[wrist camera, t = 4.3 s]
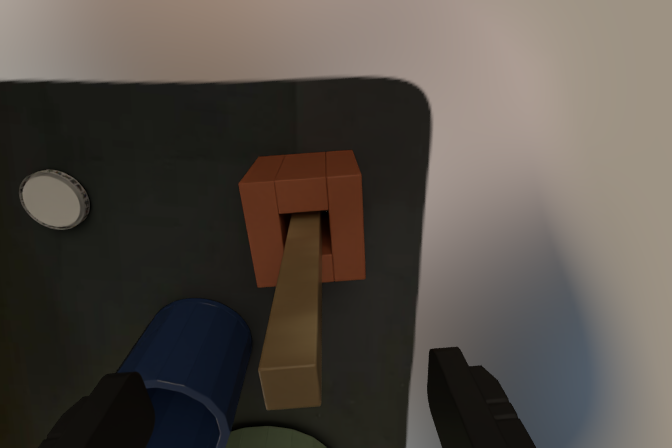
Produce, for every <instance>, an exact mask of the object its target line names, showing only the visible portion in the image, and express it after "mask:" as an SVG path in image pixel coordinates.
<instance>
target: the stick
mask: <svg viewBox="0 0 672 448" xmlns="http://www.w3.org/2000/svg"><path fill="white" fill-rule="evenodd" d="M258 372H259V377H260V382H261V387H262V392H263V396H264V401H265V406H266V409H267V410H278V409H291V408H304V407H317V406H320V405H321V385H322V211H309V212H296V213H292V215H291V220H290V224H289V229H288V234H287V238H286V243H285V248H284V252H283V257H282V261H281V266H280V271H279V275H278V280H277V284H276V289H275V294H274V298H273V303H272V307H271V312H270V317H269V321H268V326H267V330H266V335H265V340H264V344H263V349H262V353H261V358H260V363H259V367H258Z"/></svg>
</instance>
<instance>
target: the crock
mask: <svg viewBox="0 0 672 448" xmlns="http://www.w3.org/2000/svg"><path fill="white" fill-rule="evenodd" d="M251 351H252V336H251V332H250V330H249V328H248V325H247V324H246V322H245V321H244V320H243V319H242V317H241V316H240V315H239V314H238V313H236V312H235V311H234V310H232V309H231V308H229V307H227V306H226V305H224V304H221V303H219V302H216V301H213V300H208V299H202V298H188V299H182V300H178V301H175V302H172V303H170V304H168V305H166V306H165V307H163V308H162V309H161V310H160V311H159V312H158V313H157V314H156V315H155V317H154V318H153V320H152V321H151V322H150V323H149V324H148V326H147V327H146V329H145V330H144V332H143V333H142V335H141V336H140V338H139V339H138V340H137V342H136V343H135V345H134V346H133V348H132V349H131V351H130V352H129V354H128V355H127V356H126V358H125V359H124V361H123V362H122V364H121V365H120V367H119V368H118V370H117V371H116V373H125V372H138V373H140V375H141V376H142V379H143V381H144V384H145V387H146V389H147V392H148V394H149V397H150V400H151V402H152V405H153V407H154V411H155V425H154V429H153V433H152V435H151V438H150V440H149V442H148V444H147V446H146V448H226V446H227V443H228V439H229V436H230V433H231V429H232V425H233V421H234V417H235V413H236V409H237V405H238V402H239V398H240V394H241V390H242V386H243V382H244V378H245V374H246V370H247V366H248V362H249V358H250V354H251Z"/></svg>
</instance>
